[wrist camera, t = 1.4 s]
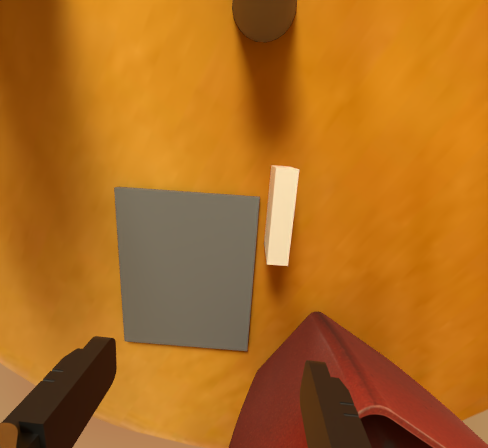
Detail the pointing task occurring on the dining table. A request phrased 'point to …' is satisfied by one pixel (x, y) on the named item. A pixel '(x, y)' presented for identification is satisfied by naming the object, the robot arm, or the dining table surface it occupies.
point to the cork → (264, 18)
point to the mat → (186, 266)
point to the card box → (280, 214)
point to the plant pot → (361, 390)
